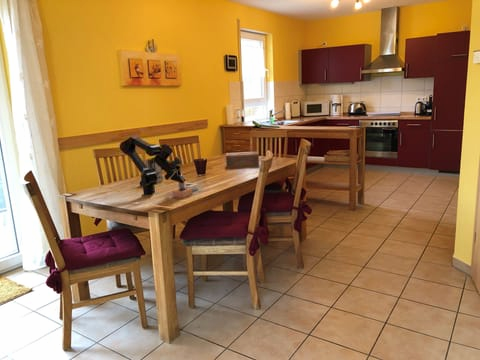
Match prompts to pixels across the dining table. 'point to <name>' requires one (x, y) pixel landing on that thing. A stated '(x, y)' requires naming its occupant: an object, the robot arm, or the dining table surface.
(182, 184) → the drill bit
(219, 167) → the dining table surface
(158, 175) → the coffee box
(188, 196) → the tool board
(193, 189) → the socket block
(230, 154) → the tissue box cover
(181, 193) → the rack block
